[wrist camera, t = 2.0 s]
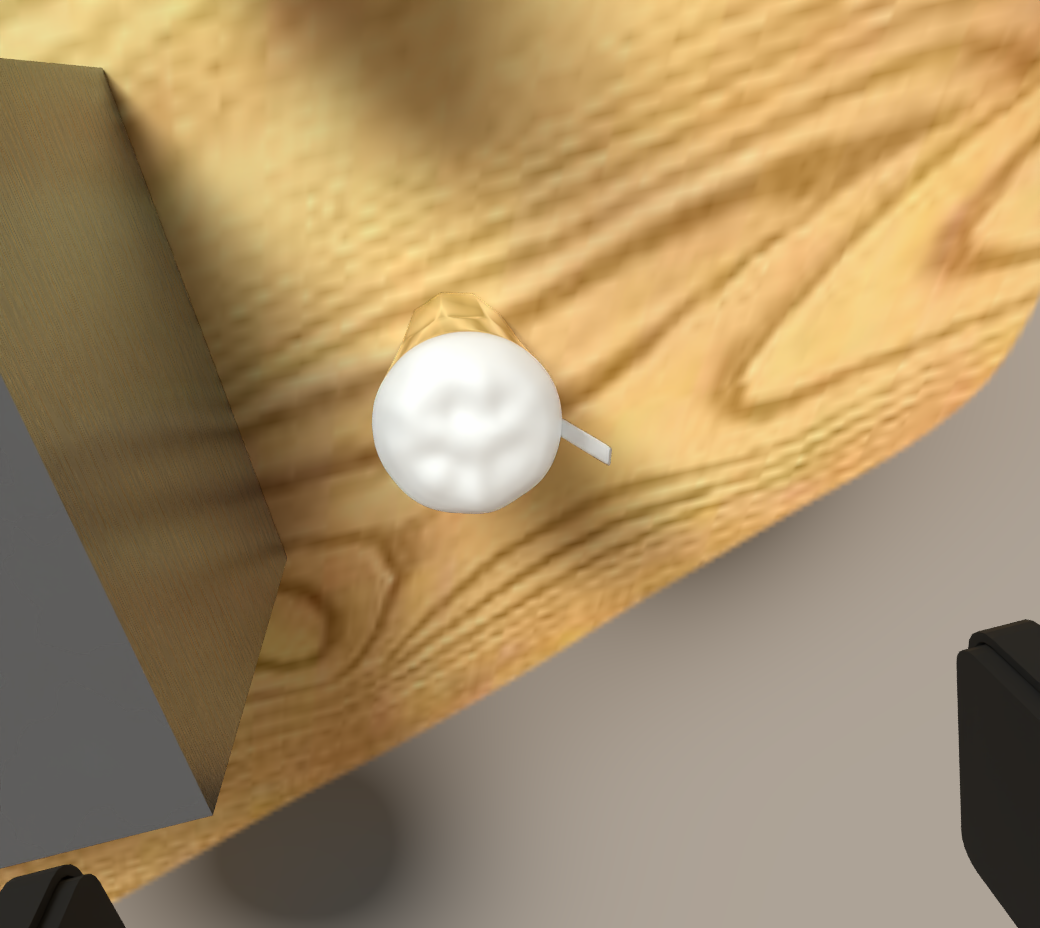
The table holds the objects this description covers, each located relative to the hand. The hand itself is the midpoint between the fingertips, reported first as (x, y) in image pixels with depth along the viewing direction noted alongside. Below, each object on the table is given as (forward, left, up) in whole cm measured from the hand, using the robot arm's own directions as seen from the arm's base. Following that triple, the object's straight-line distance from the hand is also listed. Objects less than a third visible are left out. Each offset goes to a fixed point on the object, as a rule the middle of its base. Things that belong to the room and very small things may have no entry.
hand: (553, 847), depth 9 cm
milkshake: (0, 0, -21) cm, 21 cm away
